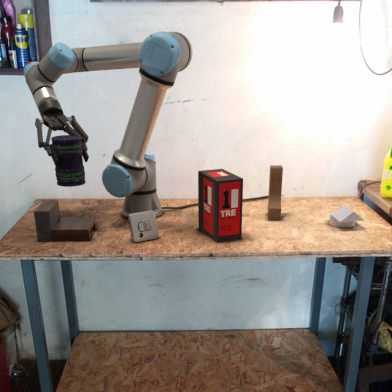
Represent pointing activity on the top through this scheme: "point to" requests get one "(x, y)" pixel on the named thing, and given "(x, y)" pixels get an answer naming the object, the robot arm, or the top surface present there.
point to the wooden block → (275, 192)
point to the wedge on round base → (344, 217)
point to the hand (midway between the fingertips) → (72, 161)
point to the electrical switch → (143, 226)
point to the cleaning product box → (220, 204)
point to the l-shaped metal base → (60, 224)
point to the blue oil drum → (69, 160)
